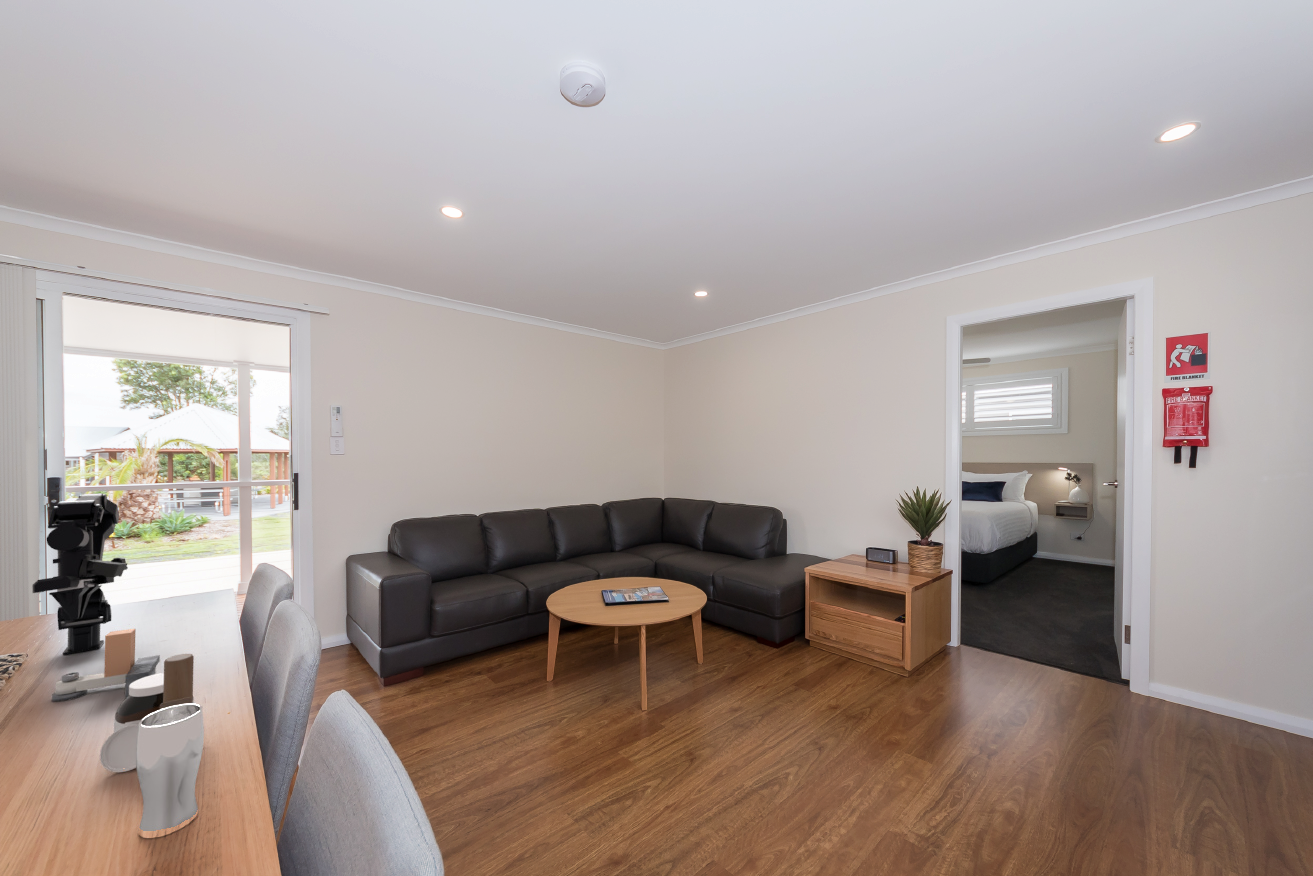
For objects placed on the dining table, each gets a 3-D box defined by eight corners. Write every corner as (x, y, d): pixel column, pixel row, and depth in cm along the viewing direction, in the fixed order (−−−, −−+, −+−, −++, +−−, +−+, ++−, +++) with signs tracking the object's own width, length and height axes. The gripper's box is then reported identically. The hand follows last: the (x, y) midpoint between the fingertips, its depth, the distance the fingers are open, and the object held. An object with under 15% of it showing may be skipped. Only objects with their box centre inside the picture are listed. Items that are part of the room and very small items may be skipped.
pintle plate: (54, 695, 110) (55, 674, 110) (89, 688, 113) (90, 667, 114) (48, 704, 106) (49, 682, 106) (84, 696, 110) (85, 675, 110)
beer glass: (213, 812, 75) (216, 707, 75) (154, 847, 68) (156, 731, 69) (182, 801, 77) (184, 699, 78) (121, 834, 71) (124, 722, 71)
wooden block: (157, 800, 78) (160, 678, 78) (161, 767, 86) (163, 656, 86) (190, 789, 80) (193, 671, 80) (191, 758, 88) (193, 650, 88)
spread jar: (188, 727, 98) (189, 665, 98) (201, 750, 91) (203, 682, 91) (94, 756, 88) (96, 687, 89) (101, 784, 81) (102, 708, 82)
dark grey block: (125, 700, 108) (125, 675, 108) (137, 681, 117) (138, 658, 117) (148, 695, 110) (148, 671, 110) (159, 677, 119) (159, 655, 119)
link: (51, 696, 107) (53, 643, 107) (60, 688, 111) (62, 637, 111) (150, 679, 115) (152, 630, 115) (156, 673, 118) (157, 625, 119)
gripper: (97, 546, 121) (99, 615, 119) (139, 546, 137) (141, 606, 135) (30, 555, 116) (31, 627, 114) (82, 554, 133) (83, 616, 131)
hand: (76, 618), depth 124 cm, fingers closed
